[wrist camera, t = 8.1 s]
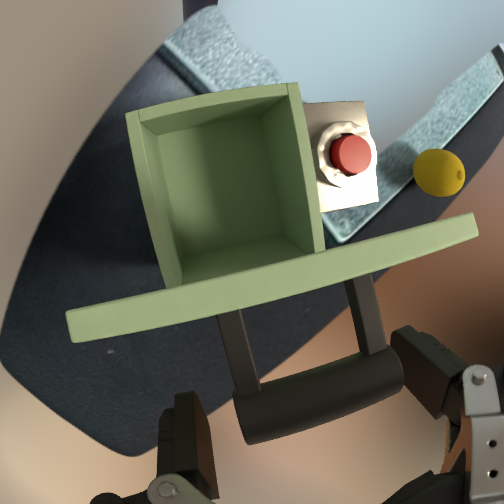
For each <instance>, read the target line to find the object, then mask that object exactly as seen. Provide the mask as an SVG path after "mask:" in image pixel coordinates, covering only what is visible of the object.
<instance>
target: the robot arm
mask: <svg viewBox="0 0 504 504" xmlns="http://www.w3.org/2000/svg"><path fill="white" fill-rule="evenodd" d="M390 347H392V348H393V350H394V351H395V352H396V354H397V355H398V357H399V359H400V362H401V364H402V368H403V372H404V385H405V386H406V387H407V388H408V390H409V391H410V392H411V393H412V394H413V395H414V396H415V397H416V398H417V400H418V401H419V402H420V403H421V404H422V405H423V406H424V407H425V408H426V409H427V411H428V412H429V413H430V414H431V415H432V416H433V417H434V419H436V420H437V419H438V418H440V417H442V416H443V415H446V416H447V417H448V418H447V421H446V441H445V457H444V462H443V465H442V468H441V471H440V474H436V475H434V474H433V472H432V471H431V470H429V471H428V472H426V473H425V474H423V475H421V476H420V477H418V478H416V479H414V480H412V481H411V482H409V483H407V484H405V485H404V486H403V487H402V488H401V489H399V490H398V491H397V492H396V493H395V494H393V495H392V496H391V497H390V498H388V499H387V500H386V501H385V502H383V503H382V504H504V365H502V366H499V367H496V368H493V369H490V368H488V367H486V366H484V365H472V366H469V365H468V364H467V363H465V362H464V361H463V360H462V359H460V358H459V357H458V356H457V355H456V354H454V353H453V352H452V351H451V350H449V349H448V348H446V346H444V345H443V344H442V343H441V344H440V342H439V341H438V340H437V339H436V338H434V337H433V336H432V335H429V334H426V333H424V332H420V333H419V332H418V331H416V330H415V329H414V328H413V327H411V326H409V325H407V326H404V327H402V328H400V329H397V330H395V331H393V332H392V334H391V341H390ZM158 440H159V442H158V453H157V454H158V455H157V475H156V478H155V479H154V480H153V481H152V482H151V483H150V484H149V486H148V489H147V490H145V491H143V492H140V493H138V494H135V495H131V496H128V497H125V498H120V496H118V495H116V494H114V493H102V494H99V495H97V496H95V497H94V498H93V499H92V500H91V502H90V504H215V503H214V502H212V501H211V500H213V499H219V492H218V485H217V478H216V471H215V465H214V458H213V449H212V441H211V432H210V426H209V423H208V419H207V416H206V414H205V412H204V410H203V407H202V405H201V403H200V401H199V398H198V396H197V394H196V392H195V391H189V392H184V393H178V394H175V404H174V408H169V409H165V410H164V412H163V414H162V416H161V417H160V419H159V433H158Z"/></svg>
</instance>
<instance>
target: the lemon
mask: <svg viewBox="0 0 504 504" xmlns="http://www.w3.org/2000/svg"><path fill="white" fill-rule="evenodd" d="M413 175H414V178H415V181H416V183H417V184H418V186H419V187H420V188H421V189H422V190H423V191H425V192H426V193H428V194H431V195H434V196H439V197H443V196H450V195H453V194H455V193H457V192H458V191H459V190H460V189H461V187H462V185H463V183H464V179H465V171H464V167H463V165H462V163H461V161H460V160H459V158H458V157H457V156H456V155H454V154H453V153H451V152H449V151H446V150H442V149H429V150H426V151H424V152H422V153H421V154H420V155H419V156H418V157H417V158H416V160H415V162H414V166H413Z"/></svg>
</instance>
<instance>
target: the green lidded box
mask: <svg viewBox="0 0 504 504" xmlns="http://www.w3.org/2000/svg"><path fill="white" fill-rule="evenodd" d="M125 118H126V124H127V130H128V135H129V141H130V146H131V151H132V156H133V161H134V166H135V171H136V175H137V180H138V184H139V189H140V193H141V197H142V202H143V206H144V210H145V214H146V218H147V222H148V226H149V230H150V233H151V237H152V241H153V245H154V248H155V252H156V255H157V259H158V262H159V266H160V269H161V273H162V276H163V279H164V282H165V286H166V289H167V288H171V287H175V286H180V285H184V284H188V283H192V282H197V281H201V280H205V279H210V278H214V277H218V276H222V275H226V274H231V273H235V272H239V271H243V270H247V269H251V268H255V267H260V266H264V265H268V264H272V263H276V262H280V261H284V260H288V259H292V258H296V257H300V256H304V255H308V254H312V253H316V252H320V251H324V250H325V242H324V234H323V226H322V218H321V211H320V203H319V196H318V189H317V183H316V176H315V170H314V164H313V158H312V152H311V146H310V140H309V135H308V130H307V124H306V119H305V114H304V109H303V104H302V99H301V94H300V90H299V85H298V83H297V82H295V83H286V84H285V83H282V84H272V85H262V86H254V87H246V88H239V89H232V90H226V91H219V92H214V93H208V94H203V95H198V96H193V97H188V98H183V99H179V100H174V101H170V102H166V103H162V104H158V105H154V106H150V107H146V108H143V109H139V110H135V111H132V112H128V113H126V114H125Z"/></svg>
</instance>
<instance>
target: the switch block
mask: <svg viewBox="0 0 504 504" xmlns="http://www.w3.org/2000/svg"><path fill="white" fill-rule="evenodd" d="M303 109H304V114H305V119H306V124H307V130H308V135H309V140H310V146H311V152H312V158H313V164H314V170H315V176H316V183H317V189H318V196H319V203H320V211H321V213H326V212H331V211H335V210H340V209H345V208H350V207H355V206H360V205H365V204H369V203H374V202H378V201H379V200H378V190H377V181H376V172H375V166H376V163H377V153H376V147H375V142H374V141H373V139H372V138H371V136H370V131H369V125H368V120H367V114H366V109H365V104H364V101H340V102H322V103H308V104H303ZM349 135H358V136H360V137H362V138H364V139H365V140H366V141H367V142H368V144H369V145H370V148H371V151H372V160H371V163H370V166H369V167H368V168H367V170H365V171H364V172H362V173H359V174H352V173H344V172H341V171H339V170H338V169H337V168H336V167H335V166H334V164H333V162H332V160H331V147H332V145H333V143H334V142H335V141H336V140H337V139H338V138H340V137H342V136H349Z"/></svg>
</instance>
